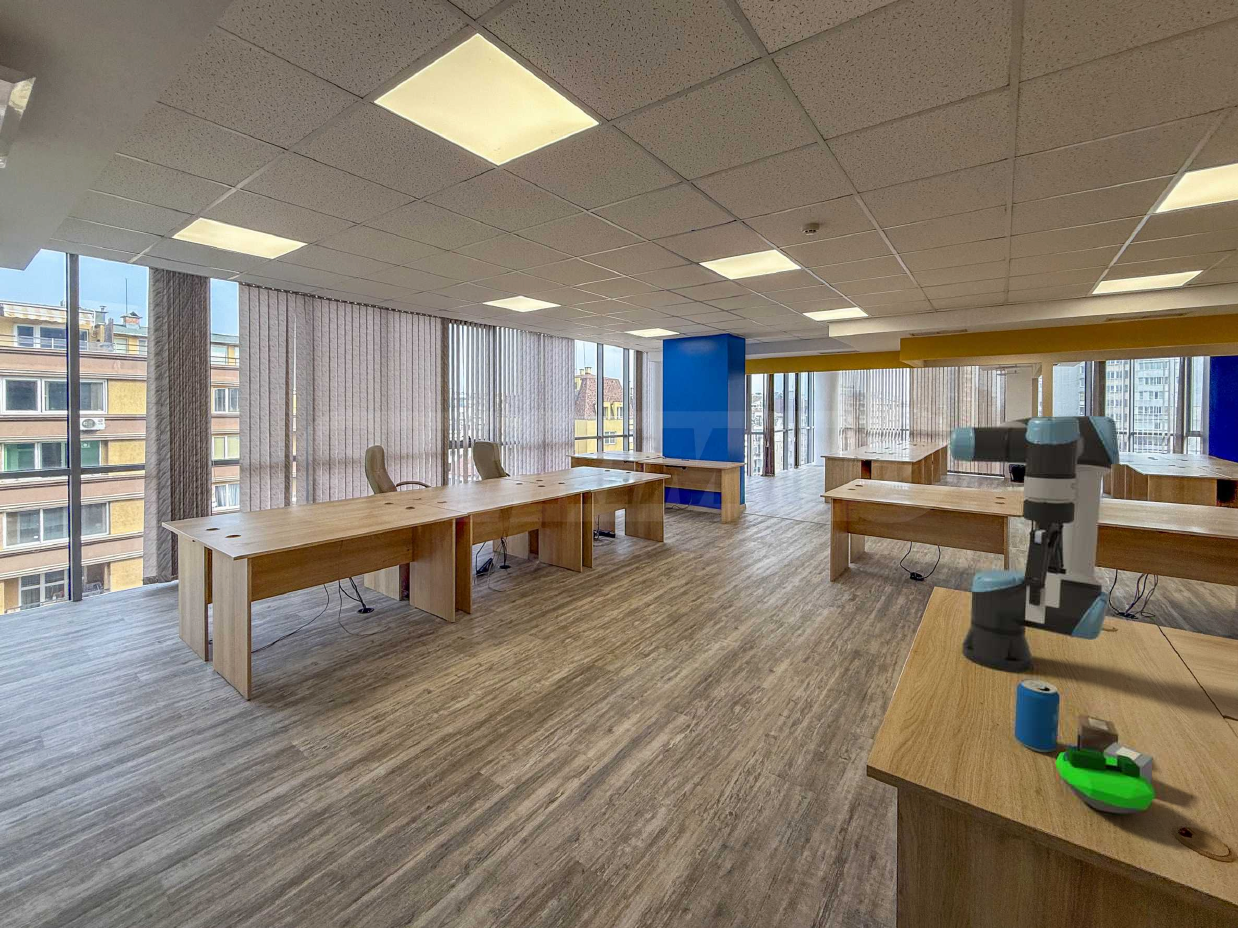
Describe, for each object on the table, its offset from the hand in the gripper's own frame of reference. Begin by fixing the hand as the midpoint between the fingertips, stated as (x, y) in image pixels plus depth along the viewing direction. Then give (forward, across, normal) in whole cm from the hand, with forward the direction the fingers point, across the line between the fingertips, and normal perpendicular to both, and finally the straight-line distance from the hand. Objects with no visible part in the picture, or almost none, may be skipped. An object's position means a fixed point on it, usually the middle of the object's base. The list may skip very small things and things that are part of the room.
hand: (1042, 613), depth 101 cm
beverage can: (+26, 0, 0) cm, 26 cm away
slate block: (+26, -1, -13) cm, 29 cm away
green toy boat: (+26, -12, -11) cm, 31 cm away
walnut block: (+26, +7, -8) cm, 28 cm away
